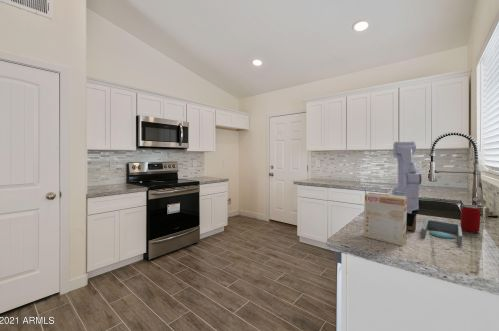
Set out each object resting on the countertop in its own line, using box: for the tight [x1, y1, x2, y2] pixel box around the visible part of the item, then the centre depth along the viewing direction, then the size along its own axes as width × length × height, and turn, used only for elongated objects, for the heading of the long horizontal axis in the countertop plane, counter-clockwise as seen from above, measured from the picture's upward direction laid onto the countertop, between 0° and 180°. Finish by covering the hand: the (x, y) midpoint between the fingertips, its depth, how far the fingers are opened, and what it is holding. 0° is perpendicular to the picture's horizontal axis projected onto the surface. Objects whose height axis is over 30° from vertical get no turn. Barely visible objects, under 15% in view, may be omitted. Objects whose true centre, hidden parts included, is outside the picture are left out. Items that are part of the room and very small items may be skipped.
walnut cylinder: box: [406, 215, 417, 231], centre depth 113 cm, size 4×4×7 cm
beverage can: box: [460, 204, 482, 234], centre depth 112 cm, size 7×7×12 cm
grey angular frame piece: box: [421, 218, 463, 246], centre depth 106 cm, size 20×13×4 cm, turn 139°
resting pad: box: [429, 230, 456, 240], centre depth 106 cm, size 9×9×1 cm
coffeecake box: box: [363, 192, 407, 247], centre depth 101 cm, size 15×7×20 cm, turn 45°
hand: (410, 224), depth 113 cm, fingers closed on walnut cylinder, 4 cm apart
